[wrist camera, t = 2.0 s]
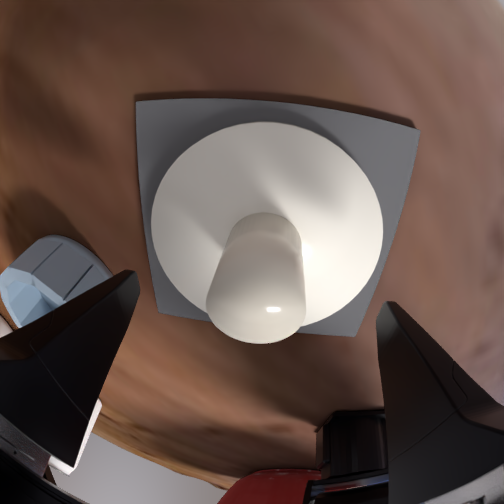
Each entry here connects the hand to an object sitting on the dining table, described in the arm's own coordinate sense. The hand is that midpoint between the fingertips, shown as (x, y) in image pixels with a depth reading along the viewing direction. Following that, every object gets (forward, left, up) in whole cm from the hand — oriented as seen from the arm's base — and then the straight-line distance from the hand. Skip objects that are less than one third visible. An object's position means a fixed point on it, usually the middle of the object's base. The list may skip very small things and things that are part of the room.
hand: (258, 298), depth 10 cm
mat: (0, 0, -4) cm, 4 cm away
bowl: (+13, +6, -4) cm, 15 cm away
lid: (0, 0, -4) cm, 4 cm away
